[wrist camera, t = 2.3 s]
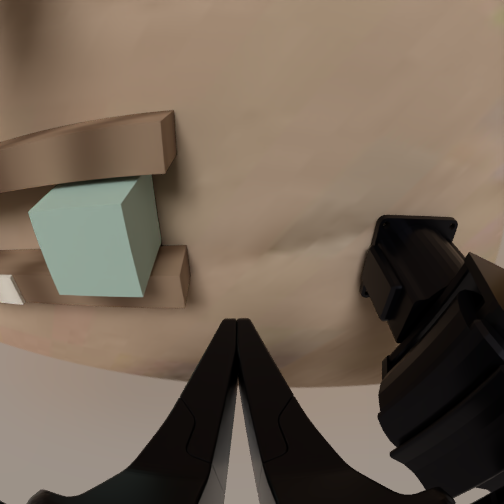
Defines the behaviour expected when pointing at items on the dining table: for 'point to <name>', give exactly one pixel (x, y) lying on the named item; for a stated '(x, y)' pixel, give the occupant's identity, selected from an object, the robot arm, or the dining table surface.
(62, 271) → the block
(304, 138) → the dining table surface
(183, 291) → the chute
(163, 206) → the dining table surface
